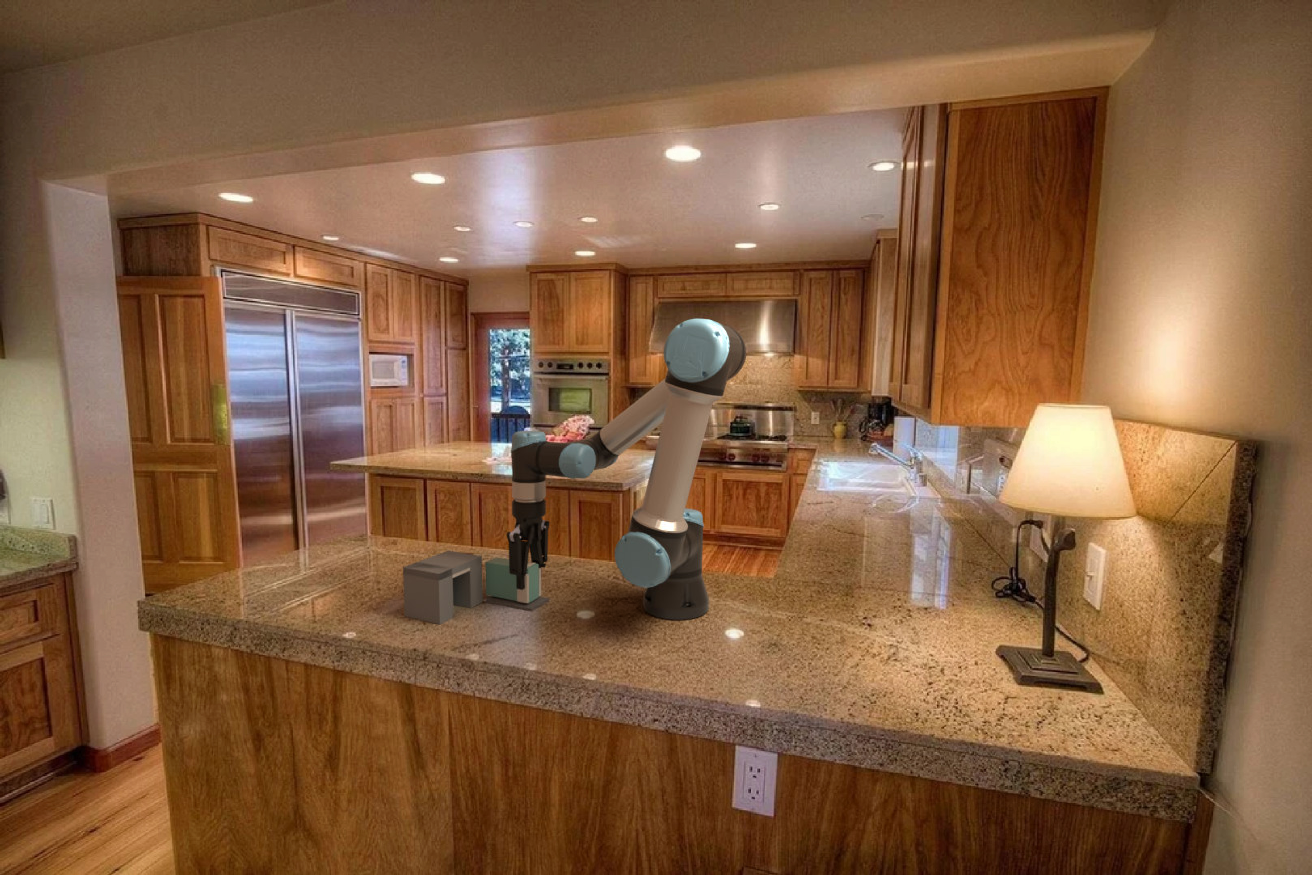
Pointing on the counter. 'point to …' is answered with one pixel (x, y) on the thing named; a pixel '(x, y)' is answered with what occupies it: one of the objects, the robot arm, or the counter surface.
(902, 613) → the counter surface
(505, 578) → the banded gift box
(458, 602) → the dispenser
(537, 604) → the pad
